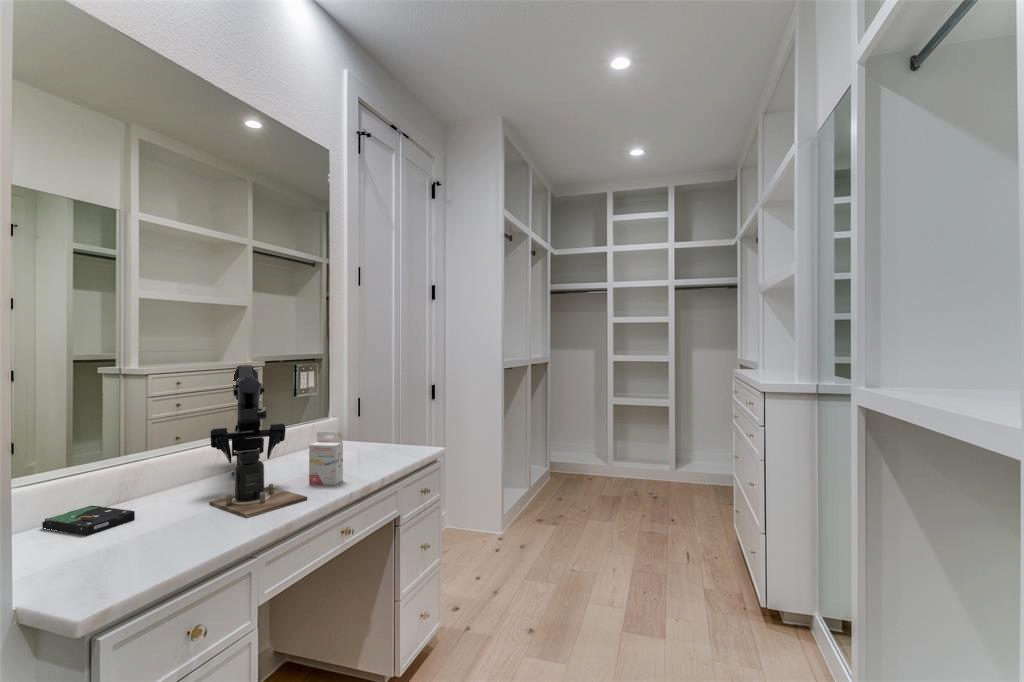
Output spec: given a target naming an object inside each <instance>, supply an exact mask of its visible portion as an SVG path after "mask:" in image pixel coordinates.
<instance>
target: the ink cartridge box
mask: <svg viewBox="0 0 1024 682" xmlns="http://www.w3.org/2000/svg"><path fill="white" fill-rule="evenodd" d="M327 436H332V437H327ZM308 446H309V447H308V449H309V451H308V453H309V460H308V484H309V485H323V486H324V485H329V486H331V485H332V486H336V485H338V484H340V483H341V482H343V480H344V464H343V463H344V457H343V455H344V442H343V433H342V432H339V431H337V432H336V431H316V441H315V442H313V443H310V444H309V445H308Z"/></svg>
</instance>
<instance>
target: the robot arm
mask: <svg viewBox="0 0 1024 682" xmlns="http://www.w3.org/2000/svg"><path fill="white" fill-rule="evenodd" d="M235 370H236V371H235ZM235 370H234V371H235V374H234V380H233V381H236V385H233V387H232V393H233V394H232V395H233V397H235V399H236V400H237V403H236V404H237V406H236V409H237V412H236V413H237V419H236V420H237V423H236V425H235V426H234V428H235V429H234V431H228V427H220V428H212V429H211V430H210V448H212V449H214V448H216V450H219V451H221V452H223V454H224V455H225V457H226V459H227V461H228V463H229V464H232V457H233V458H234V457H236V465H237V464H239V463H240V461H239V453H242V452H247V451H259V452H260V455H261V454H262V453H264V450H265V449H264V446H265V444H264V443H265V438H268V443H267V452H266V453H267V454H266V459H267V460H269V459H270V457H271V454H272V452H273V450H274V448H275V447H276V445H278V444H280V443H281V442H283V441H285V437H286V430H287V429H286V425H285V424H284V423H271V424H270V425H269V429H261V426H262V425H261V420H266V419H267V407H266V406H260V397H261V396H262V395H263V393H264V392H265V387H264V386H263V385H262V383H260V380H259V373H258V371H257V370H255V369H254V365H252V364H249V365H248V364H244V365H242V364H241V365H238V366H237V365H236V369H235ZM238 378H239V379H238ZM237 379H238V380H237ZM230 440H231V446H230ZM231 474H232V475H235V470H234V471H232V472H231Z"/></svg>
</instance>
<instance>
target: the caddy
mask: <svg viewBox="0 0 1024 682" xmlns="http://www.w3.org/2000/svg"><path fill="white" fill-rule="evenodd" d="M274 485H275V484H274V483H269V484H268V486H264V492H261V493H260V499H258V500H254V501H248V502H238V501H236V500H235V494H234V495H233V494H232V493H229V494H226V495H225V497H222V498H218V499H215V500H210V501H208V505H209V506H212V507H214V508H218V509H220V510H223V511H226V512H228V513H231V514H234V515H237V516H240V517H243V518H246V519H247V518H251V517H255V516H257V515H260V514H261V515H262V514H264V513H267V512H271V511H274V510H278V509H280V508H281V509H282V508H284V507H287V506H291V505H294V504H298V503H300V502H304V501H308V496H306V495H303V494H298V493H295V492H291V491H288V490H284V489H281V488H277V487H275V486H274Z"/></svg>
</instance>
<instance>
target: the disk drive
mask: <svg viewBox="0 0 1024 682" xmlns="http://www.w3.org/2000/svg"><path fill="white" fill-rule="evenodd" d="M135 515H136V511H135V510H130V509H121V508H114V507H108V506H107V507H106V506H105V507H104V506H100V505H89V506H85V507H82V508H78V509H75V510H71V511H67V512H66V513H62V514H59V515H55V516H52V517H49V518H48V517H45V518H44V521H42V524H41V525H42V529H43V528H46V529H50V530H49V531H52V530H57V531H56V532H59V531H62V532H61V533H65V532H67V533H66V534H72V535H76V536H77V535H78V536H85V537H88V536H91V535H95V534H98V533H100V532H103V531H106V530H109V529H112V528H115V527H119V526H122V525H124V524H127V523H130V522H133V521H135V520H136V517H135ZM46 529H45V530H46ZM51 529H52V530H51Z"/></svg>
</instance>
